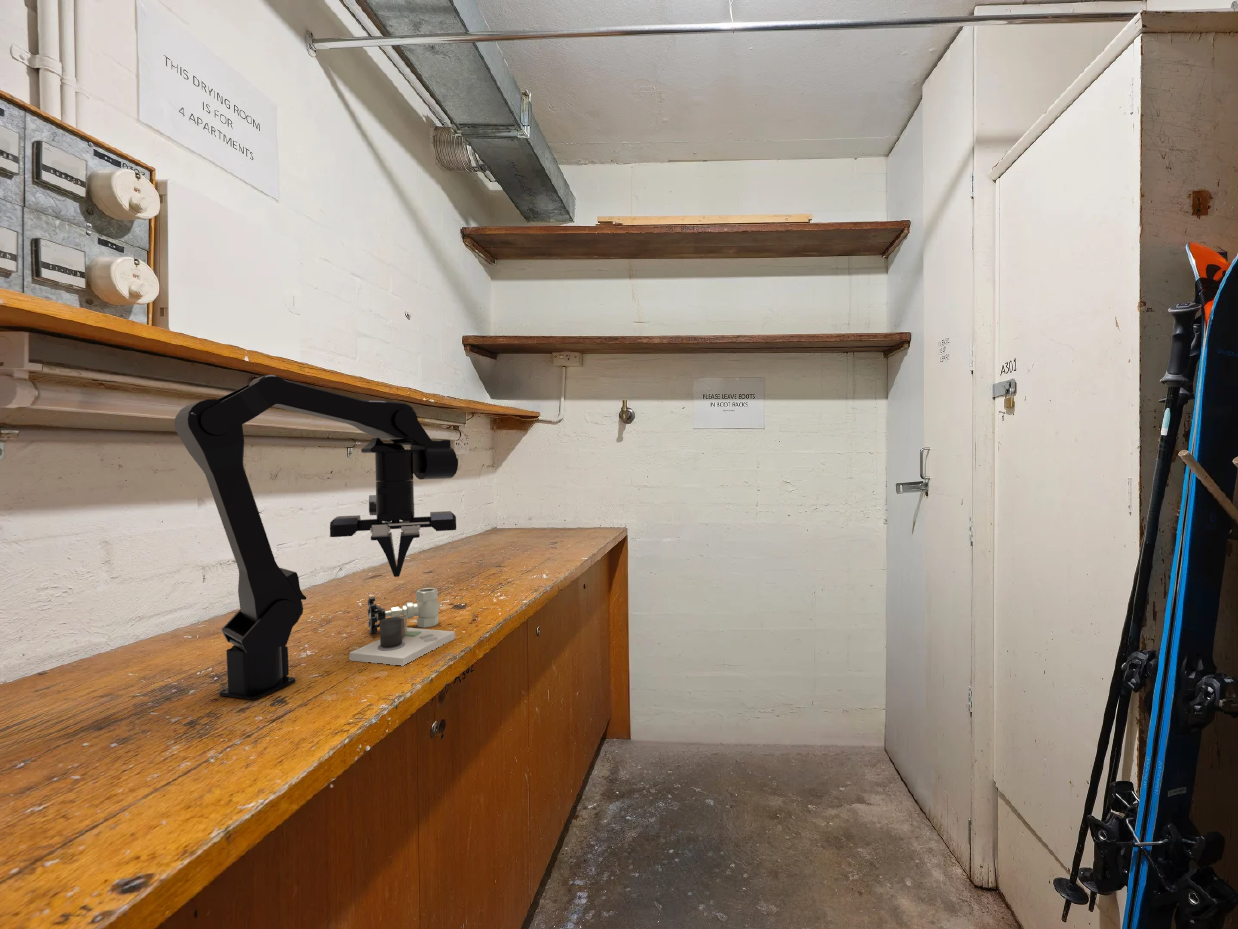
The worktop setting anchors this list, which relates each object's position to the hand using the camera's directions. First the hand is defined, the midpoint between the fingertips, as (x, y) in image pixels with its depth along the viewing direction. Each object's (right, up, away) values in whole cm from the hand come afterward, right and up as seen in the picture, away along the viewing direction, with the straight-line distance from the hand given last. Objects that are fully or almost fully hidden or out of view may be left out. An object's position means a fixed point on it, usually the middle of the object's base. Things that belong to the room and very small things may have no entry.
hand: (396, 576), depth 92 cm
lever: (0, -10, -1) cm, 10 cm away
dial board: (+2, -12, -1) cm, 12 cm away
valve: (-3, -12, +11) cm, 16 cm away
